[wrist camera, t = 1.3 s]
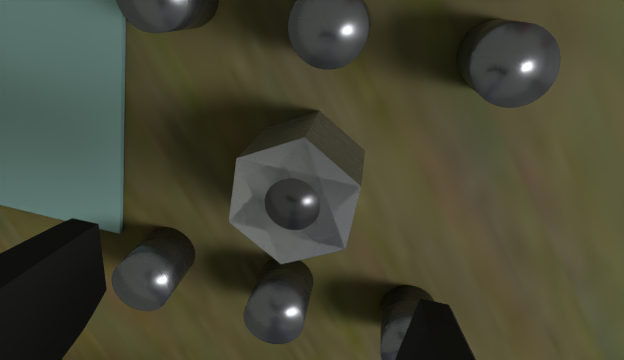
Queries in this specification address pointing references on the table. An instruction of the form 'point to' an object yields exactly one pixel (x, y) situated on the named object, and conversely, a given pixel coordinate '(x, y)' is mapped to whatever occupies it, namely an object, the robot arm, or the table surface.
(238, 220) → the steel nut
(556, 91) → the table surface
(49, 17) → the mat
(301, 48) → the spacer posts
